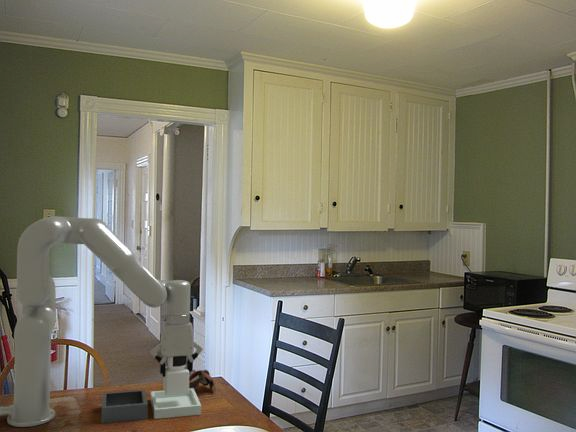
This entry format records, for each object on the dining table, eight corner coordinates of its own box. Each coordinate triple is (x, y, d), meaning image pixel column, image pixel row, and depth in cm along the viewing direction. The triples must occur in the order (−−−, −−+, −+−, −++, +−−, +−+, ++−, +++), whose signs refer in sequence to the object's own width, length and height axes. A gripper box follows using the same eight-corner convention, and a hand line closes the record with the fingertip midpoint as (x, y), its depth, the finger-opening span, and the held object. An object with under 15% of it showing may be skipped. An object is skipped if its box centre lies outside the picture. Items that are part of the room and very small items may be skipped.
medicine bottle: (185, 386, 168) (186, 349, 168) (189, 393, 161) (190, 355, 161) (163, 388, 166) (163, 351, 165) (165, 396, 159) (166, 357, 159)
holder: (101, 423, 149) (101, 408, 149) (102, 407, 162) (102, 392, 161) (147, 419, 153) (147, 404, 153) (144, 403, 166) (145, 389, 166)
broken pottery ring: (215, 398, 174) (203, 378, 172) (190, 408, 175) (179, 388, 173) (221, 378, 185) (210, 359, 184) (198, 387, 187) (187, 369, 185)
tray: (154, 419, 154) (154, 409, 154) (150, 400, 169) (150, 391, 169) (200, 414, 158) (201, 405, 158) (193, 396, 173) (193, 388, 173)
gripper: (150, 323, 157) (148, 380, 157) (206, 320, 163) (205, 376, 163) (148, 318, 164) (147, 373, 164) (202, 315, 170) (201, 369, 170)
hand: (176, 374), depth 163 cm, fingers closed on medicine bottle, 7 cm apart
